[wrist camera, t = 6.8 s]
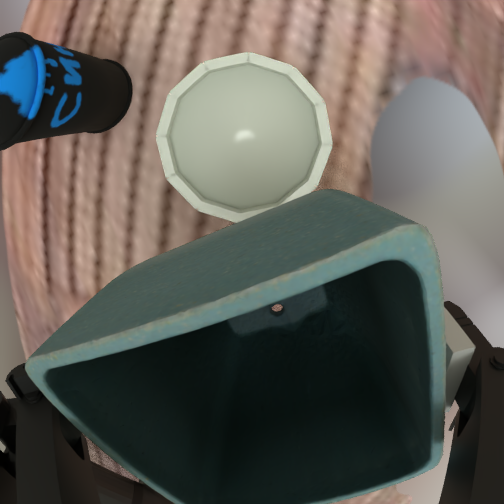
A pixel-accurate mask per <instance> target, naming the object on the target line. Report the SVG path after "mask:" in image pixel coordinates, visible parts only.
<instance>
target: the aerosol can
mask: <svg viewBox="0 0 504 504" xmlns="http://www.w3.org/2000/svg"><path fill="white" fill-rule="evenodd" d="M131 97H132V84H131V79H130V77H129V75H128V73H127V71H126V70H125V69H124V67H122V66H121V65H120V64H119V63H117V62H115V61H112V60H108V59H99V58H96V57H93V56H90V55H87V54H84V53H81V52H77V51H74V50H71V49H67V48H64V47H61V46H57V45H54V44H50V43H46V42H43V41H39V40H35V39H34V38H33V37H31V36H30V35H28V34H26V33H23V32H13V33H9V34H5V35H3V36H1V37H0V151H1V150H5V149H7V148H9V147H10V146H12V145H14V144H15V143H20V142H26V141H31V140H36V139H42V138H48V137H54V136H61V135H67V134H75V133H82V132H87V133H101V132H104V131H107V130H109V129H110V128H112V127H114V126H115V125H116V124H117V123H118V122H119V121H120V120H121V119H122V118H123V116H124V115H125V113H126V112H127V110H128V108H129V105H130V102H131Z"/></svg>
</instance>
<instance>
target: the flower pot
mask: <svg viewBox="0 0 504 504" xmlns="http://www.w3.org/2000/svg"><path fill="white" fill-rule="evenodd" d="M276 304H281V305H282V306H283V308H282V310H281V311H278V312H275V311H273V310H272V307H273V306H274V305H276ZM25 370H26V372H27V374H28V376H29V377H30V378H31V380H32V381H33V382H34V383H35V385H36V386H37V387H38V388H39V389H40V390H41V391H42V393H43V394H44V395H45V396H46V397H47V399H48V400H49V401H50V402H51V403H52V404H53V405H54V406H55V407H56V408H57V409H58V410H59V411H60V412H61V413H62V414H63V415H64V416H65V417H66V418H67V419H68V420H69V421H70V422H71V423H72V424H73V425H74V426H75V427H76V428H77V429H78V430H80V431H81V432H82V433H83V434H84V435H85V436H86V437H88V438H89V439H90V440H91V441H92V442H93V443H94V444H96V445H97V446H98V447H99V448H100V449H101V450H103V452H104V453H106V454H107V455H108V456H110V457H111V458H112V459H113V460H114V461H116V462H117V463H118V464H120V465H121V466H122V467H123V468H124V469H126V470H127V471H128V472H130V473H131V474H133V475H134V476H136V477H137V478H139V479H140V480H141V481H143V482H144V483H145V484H147V485H148V486H150V487H151V488H152V489H154V490H155V491H157V492H158V493H160V494H161V495H163V496H164V497H165V498H167V499H168V500H170V501H171V502H173V503H175V504H330V503H334V502H338V501H342V500H346V499H351V498H354V497H357V496H361V495H364V494H367V493H371V492H374V491H377V490H380V489H383V488H386V487H389V486H392V485H395V484H398V483H401V482H403V481H406V480H409V479H411V478H414V477H416V476H418V475H420V474H423V473H425V472H427V471H429V470H431V469H433V468H434V467H435V466H437V465H438V463H439V462H440V460H441V458H442V455H443V443H444V425H445V421H444V419H445V399H446V395H445V387H446V378H445V377H446V336H445V316H444V297H443V287H442V280H441V270H440V261H439V256H438V252H437V249H436V246H435V243H434V240H433V237H432V235H431V233H430V232H429V230H428V229H427V228H426V227H424V226H423V225H421V224H418V223H416V222H414V221H412V220H409V219H407V218H405V217H403V216H401V215H399V214H397V213H395V212H393V211H390V210H388V209H386V208H384V207H381V206H379V205H377V204H374V203H372V202H370V201H367V200H365V199H362V198H360V197H357V196H355V195H352V194H349V193H347V192H343V191H340V190H334V189H325V190H319V191H314V192H311V193H308V194H306V195H303V196H301V197H299V198H296V199H294V200H291V201H289V202H286V203H284V204H282V205H279V206H277V207H274V208H272V209H269V210H267V211H264V212H262V213H259V214H257V215H254V216H252V217H250V218H247V219H245V220H242V221H240V222H238V223H235V224H233V225H230V226H228V227H226V228H223V229H221V230H218V231H216V232H213V233H211V234H209V235H206V236H204V237H201V238H199V239H197V240H194V241H192V242H189V243H187V244H185V245H182V246H180V247H177V248H175V249H173V250H170V251H168V252H165V253H163V254H160V255H158V256H155V257H153V258H150V259H148V260H146V261H144V262H142V263H140V264H138V265H136V266H134V267H132V268H131V269H129V270H127V271H125V272H124V273H122V274H121V275H119V276H118V277H116V278H115V279H114V280H112V281H111V282H110V283H109V284H108V285H106V286H105V287H104V288H103V289H102V290H101V291H99V292H98V293H97V294H96V295H95V296H94V297H93V298H91V299H90V300H89V301H88V302H87V303H86V304H85V305H84V306H83V307H82V308H81V309H79V310H78V311H77V312H76V313H75V314H74V315H73V316H72V317H71V318H70V319H69V320H68V321H66V322H65V323H64V324H63V325H62V326H61V327H60V328H59V329H58V330H57V331H56V332H55V333H54V334H53V335H52V336H51V337H49V338H48V339H47V340H46V341H45V342H44V343H43V344H42V345H41V346H40V347H39V348H38V349H37V350H36V351H35V352H34V353H33V354H32V355H31V356H30V357H29V359H28V360H27V362H26V364H25Z"/></svg>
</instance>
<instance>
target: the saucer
mask: <svg viewBox="0 0 504 504" xmlns="http://www.w3.org/2000/svg"><path fill="white" fill-rule="evenodd" d="M292 68H293V66H292V65H289V64H286V63H283V62H280V61H277V60H274V59H271V58H268V57H265V56H262V55H258V54H255V53H252V52H250V53H249V54H248V52H245V53H240V54H235V55H230V56H225V57H221V58H216V59H212V60H208V61H204V64H203V63H201V64H199V65H198V66H197V67H196V68H195V69H194V70H193V71H192V72H190V73H189V74H188V75H187V76H186V77H185V78H184V79H183V80H182V81H181V82H180V83H179V84H177V85H176V86H175V87H174V88H173V89H172V90H171V91H170V92H169V93H170V94H171V95H170V94H168V96H167V99H166V102H165V105H164V109H163V112H162V115H161V119H160V122H159V125H158V129H157V132H156V135H157V136H158V137H156V141H157V145H158V149H159V153H160V157H161V161H162V165H163V169H164V173H165V177H166V178H167V177H169V178H168V179H167V180H168V181H169V182H170V183H171V185H172V186H173V187H174V188H175V189H176V190H177V191H178V192H179V193H180V194H181V195H182V196H183V197H184V198H185V199H186V200H187V201H188V202H189V203H190V204H191V205H192V206H193V207H194V208H195V209H197V208H198V211H200V212H203V213H206V214H209V215H213V216H216V217H219V218H222V219H225V220H229V221H232V222H235V223H238V222H240V221H242V220H245V219H247V218H250V217H252V216H254V215H257V214H259V213H262V212H264V211H267V210H269V209H272V208H274V207H277V206H279V205H282V204H284V203H286V202H289V201H291V200H294V199H296V198H299V197H301V196H303V195H306V194H308V193H310V192H312V191H313V190H314V189H315V188H316V187H315V186H314V185H316V186H318V183H319V181H320V178H321V176H322V173H323V170H324V168H325V165H326V162H327V160H328V157H329V154H330V152H331V149H332V146H330V145H332V144H333V143H332V137H331V131H330V126H329V120H328V115H327V110H326V104H325V102H323V101H324V99H323V98H322V97H321V96H320V95H319V94H318V92H317V91H316V90H315V89H314V88H313V87H312V85H311V84H310V83H309V82H308V81H307V80H306V79H305V78H304V76H303V75H302V74H301V73H300V72H299V71H298V70H297V69H296V68H295V67H294V68H293V69H292Z"/></svg>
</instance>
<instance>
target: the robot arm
mask: <svg viewBox="0 0 504 504" xmlns="http://www.w3.org/2000/svg"><path fill="white" fill-rule="evenodd" d="M444 316H445V336H446V377H445V378H446V387H445V395H446V399H445V412H449V410H450V408H451V406H452V404H453V402H454V400H456V402H457V404H458V406H459V410H458V412H457V414H456V416H455V418H454V420H453V422H452V423H451V426H450V428H449V430H450V431H452V429H453V427H454V434H453V440H452V446H451V452H450V457H449V463H448V467H447V472H446V476H445V481H444V485H443V489H442V493H441V497H440V501H439V504H504V348H500V347H492V346H491V344H490V343H489V342H488V341H487V339H486V338H485V337H484V336H483V334H482V333H481V332H480V331H479V329H478V328H477V327H476V326H475V325H473V322H472V321H471V320H470V319H469V318H467V315H466V314H465V313H464V312H463V310H462V309H461V308H460V307H458V306H457V305H455V304H454V303H452V302H450V301H446V302H444ZM25 364H26V363H23V364H21V365H18V366H17V367H15V368H14V369H13V370H11V372H10V373H9V374H8V375H7V378H6V382H7V384H8V386H9V387H10V389H11V390H12V391H13V393H14V394H15V396H16V397H17V398H12V399H6V398H5V397H4V395H3V394H2V392H1V391H0V441H1V442H2V443H3V444H4V445H5V446H6V449H5V451H4V453H3V452H2V451H1V450H0V504H175V503H173V502H171V501H170V500H168V499H167V498H165V497H164V496H163V495H161V494H160V493H158V492H157V491H155V490H154V489H152V488H151V487H150V486H148V485H147V484H145V483H144V482H143V481H141V480H140V479H139V483H138V482H136V481H133V480H131V479H129V478H126V477H124V476H122V475H120V474H117V473H115V472H113V471H111V470H108V469H106V468H104V467H102V466H100V465H98V464H96V463H94V462H92V461H90V456H89V451H88V446H87V441H86V439H85V436H84V435H83V434H82V432H81V431H80V430H78V429H77V428H76V427H75V426H74V425H73V424H72V423H71V422H70V421H69V420H68V419H67V418H66V417H65V416H64V415H63V414H62V413H61V412H60V411H59V410H58V409H57V408H56V407H55V406H54V405H53V404H52V403H51V402H50V401H49V400H48V399H47V397H46V396H45V395H44V394H43V393H42V391H41V390H40V389H39V388H38V387H37V386H36V385H35V383H34V382H33V381H32V380H31V378H30V377H29V376H28V374H27V372H26V370H25ZM454 425H455V426H454Z"/></svg>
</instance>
